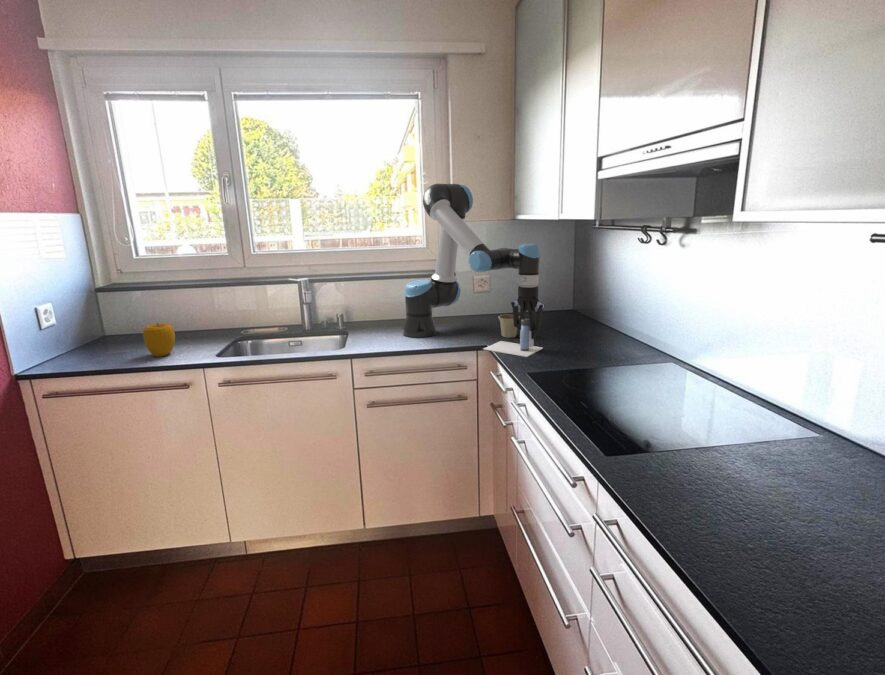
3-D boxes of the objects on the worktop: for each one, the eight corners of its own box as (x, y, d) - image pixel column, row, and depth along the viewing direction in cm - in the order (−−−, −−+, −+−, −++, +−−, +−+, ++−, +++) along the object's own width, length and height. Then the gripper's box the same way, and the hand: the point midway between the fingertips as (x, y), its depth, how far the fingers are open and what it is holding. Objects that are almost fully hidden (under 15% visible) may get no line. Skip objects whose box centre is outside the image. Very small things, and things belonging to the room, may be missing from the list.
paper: (482, 349, 188) (482, 348, 187) (500, 341, 198) (500, 340, 198) (526, 357, 177) (526, 356, 176) (543, 348, 187) (543, 347, 187)
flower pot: (519, 333, 211) (519, 314, 209) (520, 339, 202) (521, 319, 200) (498, 333, 212) (498, 314, 210) (498, 338, 203) (498, 319, 201)
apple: (182, 354, 189) (177, 322, 186) (151, 360, 182) (145, 327, 178) (173, 349, 196) (168, 318, 193) (143, 355, 189) (137, 323, 186)
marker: (518, 350, 184) (519, 319, 181) (522, 348, 187) (523, 318, 184) (526, 351, 182) (527, 320, 179) (530, 349, 185) (531, 319, 182)
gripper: (504, 285, 181) (503, 345, 187) (543, 288, 172) (541, 351, 178) (514, 283, 187) (513, 341, 193) (552, 286, 178) (550, 346, 184)
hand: (526, 345), depth 186 cm, fingers closed on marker, 3 cm apart
